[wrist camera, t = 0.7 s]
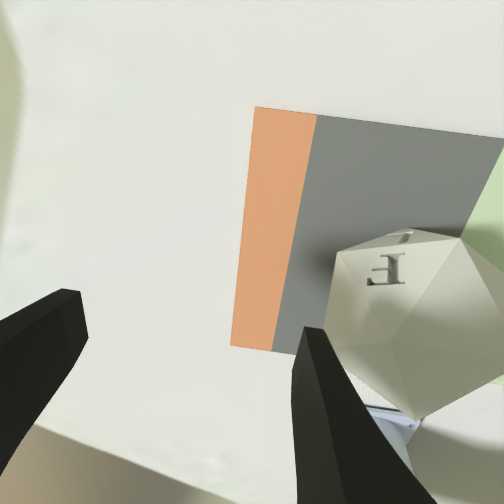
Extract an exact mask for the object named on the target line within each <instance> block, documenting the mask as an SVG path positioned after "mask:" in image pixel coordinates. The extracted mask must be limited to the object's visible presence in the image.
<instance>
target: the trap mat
mask: <svg viewBox="0 0 504 504" xmlns="http://www.w3.org/2000/svg"><path fill="white" fill-rule="evenodd" d="M404 228H411V229H416V230H421V231H426V232H431V233H436V234H441V235H446V236H451V237H456V238H460V239H462V240H463V241H464V242H465V243H467V244H468V245H469V246H470V247H472V248H473V249H474V250H475V251H476V252H478V253H479V254H480V255H481V256H483V257H484V258H485V259H486V260H488V261H489V262H490V263H491V264H493V265H494V266H495V267H496V268H498V269H499V270H500V271H501V272H503V273H504V139H501V138H493V137H486V136H478V135H470V134H463V133H455V132H447V131H439V130H432V129H424V128H416V127H408V126H401V125H393V124H385V123H378V122H370V121H362V120H354V119H347V118H339V117H331V116H323V115H316V114H308V113H300V112H293V111H285V110H277V109H269V108H262V107H255V112H254V121H253V131H252V140H251V150H250V160H249V169H248V179H247V188H246V198H245V207H244V217H243V227H242V236H241V246H240V255H239V265H238V275H237V284H236V294H235V303H234V313H233V323H232V332H231V342H230V345H231V346H238V347H245V348H252V349H259V350H265V351H272V352H279V353H286V354H293V355H296V354H297V350H298V347H299V343H300V339H301V336H302V332H303V328H304V326H306V327H312V328H319V329H323V327H324V322H325V316H326V311H327V305H328V300H329V294H330V289H331V283H332V278H333V272H334V267H335V262H336V256H337V252H339V251H342V250H344V249H347V248H350V247H353V246H356V245H359V244H361V243H364V242H367V241H370V240H373V239H376V238H378V237H381V236H385V235H387V234H390V233H393V232H395V231H398V230H401V229H404ZM489 383H490V384H497V385H504V375H502V376H500V377H498V378H496V379H494V380H492V381H491V382H489Z"/></svg>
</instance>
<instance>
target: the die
mask: <svg viewBox="0 0 504 504" xmlns="http://www.w3.org/2000/svg"><path fill="white" fill-rule="evenodd" d="M323 329H324V331H325V332H326V334H327V336H328V338H329V340H330V343H331V345H332V347H333V349H334V351H335V353H336V355H337V357H338V359H339V361H340V363H341V365H342V367H344V368H345V369H346V370H348V371H349V372H350V373H352V374H353V375H354V376H356V377H357V378H358V379H360V380H361V381H362V382H363V383H365V384H366V385H367V386H369V387H370V388H371V389H373V390H374V391H375V392H377V393H378V394H379V395H381V396H382V397H383V398H384V399H386V400H387V401H388V402H390V403H391V404H392V405H394V406H395V407H396V408H398V409H399V410H400V411H402V412H403V413H404V414H406V415H407V416H408V417H409V418H411V419H412V420H413V421H415V422H416V421H418V420H420V419H422V418H424V417H426V416H427V415H429V414H431V413H433V412H435V411H437V410H439V409H440V408H442V407H444V406H446V405H448V404H450V403H452V402H453V401H455V400H457V399H459V398H461V397H463V396H465V395H466V394H468V393H470V392H472V391H474V390H476V389H478V388H479V387H481V386H483V385H485V384H487V383H489V382H491V381H492V380H494V379H496V378H498V377H500V376H502V375H504V273H503V272H501V271H500V270H499V269H498V268H496V267H495V266H494V265H493V264H491V263H490V262H489V261H488V260H486V259H485V258H484V257H483V256H481V255H480V254H479V253H478V252H476V251H475V250H474V249H473V248H472V247H470V246H469V245H468V244H467V243H465V242H464V241H463V240H462V239H460V238H456V237H451V236H446V235H441V234H436V233H431V232H426V231H421V230H416V229H411V228H404V229H401V230H398V231H395V232H393V233H390V234H387V235H385V236H381V237H378V238H376V239H373V240H370V241H367V242H364V243H361V244H359V245H356V246H353V247H350V248H347V249H344V250H342V251H339V252H337V256H336V262H335V267H334V272H333V278H332V283H331V289H330V294H329V300H328V305H327V311H326V316H325V322H324V327H323Z"/></svg>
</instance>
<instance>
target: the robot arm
mask: <svg viewBox="0 0 504 504" xmlns="http://www.w3.org/2000/svg"><path fill="white" fill-rule="evenodd" d="M87 340H88V332H87V326H86V321H85V315H84V310H83V304H82V298H81V293H80V291H75V290H69V289H62V288H61V289H59V290H57V291H55V292H53V293H51V294H49V295H47V296H45V297H43V298H42V299H40V300H38V301H36V302H34V303H32V304H30V305H29V306H27V307H25V308H23V309H21V310H19V311H18V312H16V313H14V314H12V315H10V316H8V317H6V318H4V319H2V320H1V321H0V476H1V474H2V472H3V470H4V469H5V467H6V466H7V464H8V462H9V460H10V458H11V457H12V455H13V454H14V452H15V450H16V449H17V447H18V445H19V444H20V442H21V441H22V439H23V438H24V436H25V435H26V433H27V432H28V430H29V429H30V428H31V426H32V425H33V424H34V422H35V421H36V419H37V418H38V416H39V415H40V414H41V412H42V411H43V409H44V408H45V407H46V405H47V404H48V402H49V401H50V400H51V398H52V397H53V395H54V394H55V393H56V391H57V390H58V388H59V387H60V385H61V384H62V383H63V381H64V380H65V378H66V377H67V375H68V374H69V372H70V371H71V369H72V368H73V366H74V365H75V363H76V361H77V359H78V357H79V356H80V354H81V352H82V350H83V348H84V346H85V344H86V342H87ZM291 409H292V423H293V437H294V450H295V463H296V476H297V504H437V503H436V501H435V500H434V499H433V498H432V497H431V495H430V494H429V493H428V492H427V491H426V489H425V488H424V487H423V486H422V485H421V484H420V482H419V481H418V480H417V478H416V477H415V474H414V471H413V468H412V465H411V462H410V459H409V455H408V452H407V449H406V446H407V444H408V443H409V441H410V439H411V438H412V436H413V434H414V433H415V431H416V430H417V428H418V426H419V425H420V423H421V420H418V421H416V422H415V421H413V420H412V419H411V418H409V417H408V416H407V415H406V414H404V413H402V412H395V411H389V410H382V409H375V408H369V407H366V406H365V405H364V403H363V402H362V400H361V398H360V397H359V395H358V393H357V392H356V390H355V388H354V386H353V385H352V383H351V381H350V379H349V377H348V376H347V374H346V372H345V370H344V368H343V367H342V365H341V363H340V361H339V359H338V357H337V355H336V353H335V351H334V349H333V347H332V345H331V343H330V340H329V338H328V336H327V334H326V332H325V331H324V329H319V328H312V327H306V326H304V328H303V332H302V336H301V339H300V343H299V347H298V350H297V354H296V358H295V361H294V365H293V369H292V385H291Z"/></svg>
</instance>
